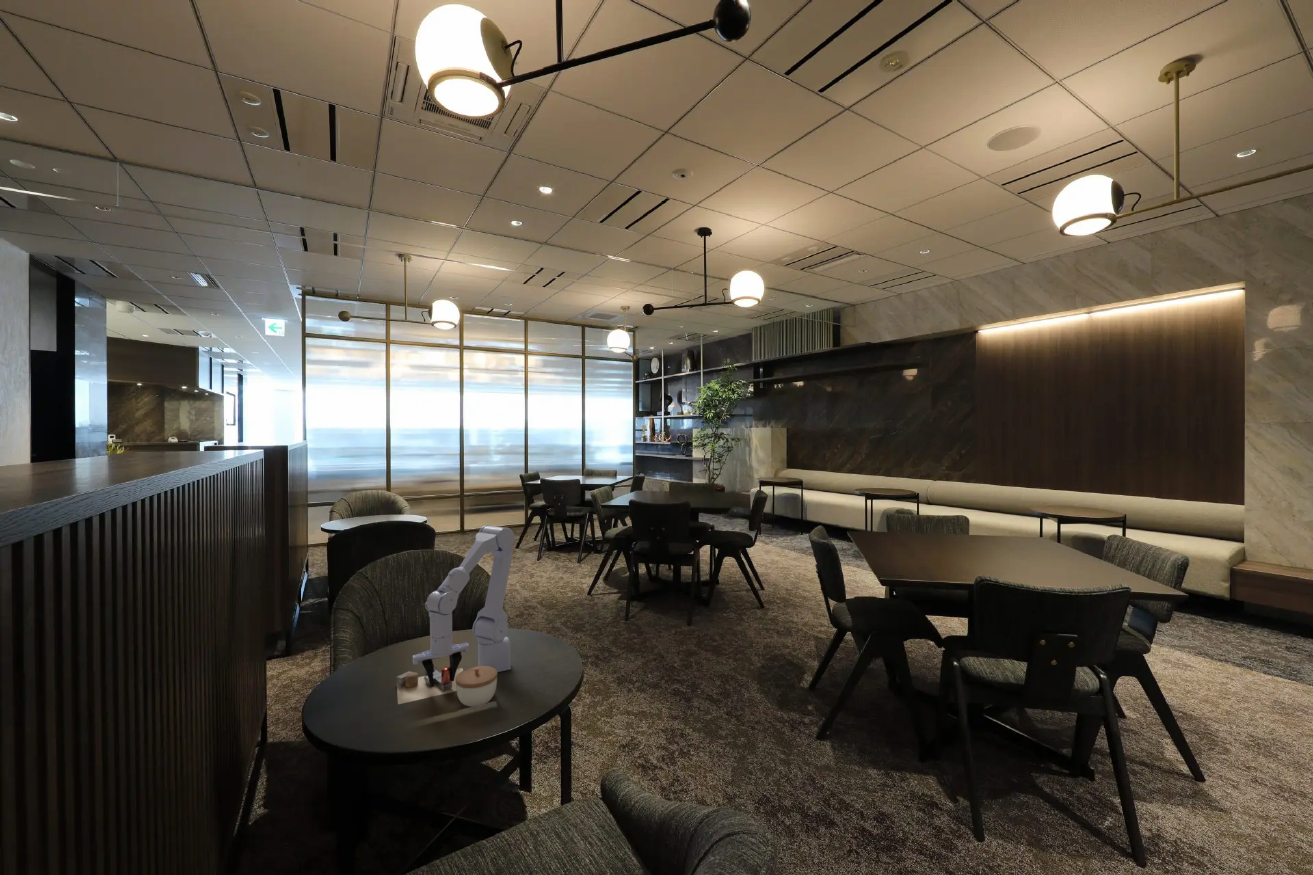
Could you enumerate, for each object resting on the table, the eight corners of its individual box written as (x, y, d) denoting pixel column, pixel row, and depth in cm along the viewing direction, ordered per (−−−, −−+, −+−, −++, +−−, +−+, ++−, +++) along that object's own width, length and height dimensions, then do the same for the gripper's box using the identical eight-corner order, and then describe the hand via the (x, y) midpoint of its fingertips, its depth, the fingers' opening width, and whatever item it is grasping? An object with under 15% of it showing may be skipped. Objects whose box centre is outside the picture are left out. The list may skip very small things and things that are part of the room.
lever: (434, 670, 153) (434, 652, 153) (454, 687, 143) (454, 667, 143) (418, 676, 150) (418, 657, 150) (438, 693, 140) (438, 673, 140)
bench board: (462, 671, 156) (462, 658, 156) (469, 692, 144) (469, 678, 144) (396, 685, 147) (396, 672, 147) (397, 708, 135) (397, 693, 135)
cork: (417, 681, 147) (417, 671, 147) (418, 686, 145) (418, 675, 145) (405, 684, 146) (405, 673, 146) (405, 689, 143) (405, 678, 143)
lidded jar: (473, 717, 131) (473, 681, 131) (447, 706, 136) (447, 671, 136) (506, 699, 140) (505, 665, 140) (480, 689, 145) (479, 656, 145)
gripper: (464, 624, 150) (465, 670, 150) (410, 635, 141) (411, 684, 142) (470, 631, 144) (471, 679, 144) (414, 644, 136) (415, 694, 136)
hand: (441, 682), depth 142 cm, fingers open, 5 cm apart
